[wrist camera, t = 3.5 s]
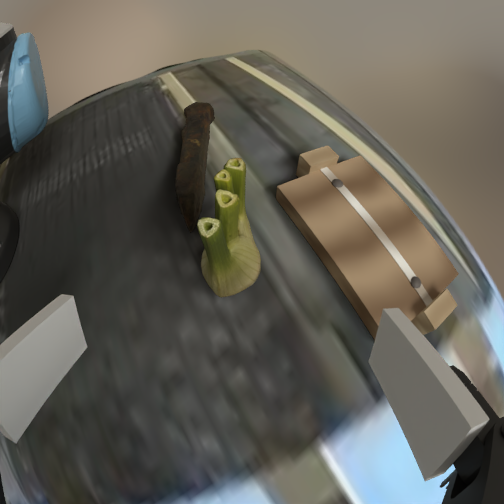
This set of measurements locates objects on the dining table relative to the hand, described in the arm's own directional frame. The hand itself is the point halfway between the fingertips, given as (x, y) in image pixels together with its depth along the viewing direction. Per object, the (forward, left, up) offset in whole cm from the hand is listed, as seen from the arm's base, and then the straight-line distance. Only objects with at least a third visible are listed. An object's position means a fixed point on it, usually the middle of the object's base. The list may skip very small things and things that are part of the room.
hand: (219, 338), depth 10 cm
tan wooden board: (-4, +18, -12) cm, 22 cm away
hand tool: (-21, +7, -13) cm, 26 cm away
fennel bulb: (-7, +4, -13) cm, 15 cm away
